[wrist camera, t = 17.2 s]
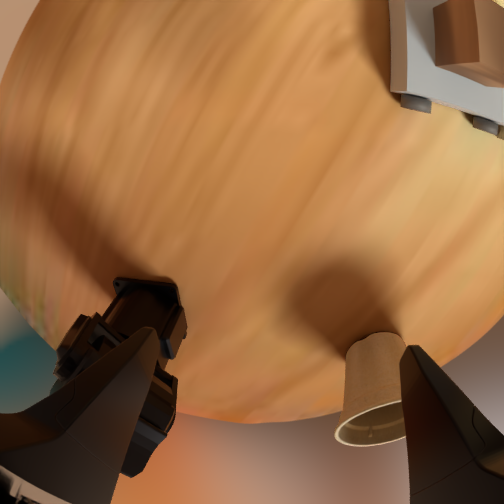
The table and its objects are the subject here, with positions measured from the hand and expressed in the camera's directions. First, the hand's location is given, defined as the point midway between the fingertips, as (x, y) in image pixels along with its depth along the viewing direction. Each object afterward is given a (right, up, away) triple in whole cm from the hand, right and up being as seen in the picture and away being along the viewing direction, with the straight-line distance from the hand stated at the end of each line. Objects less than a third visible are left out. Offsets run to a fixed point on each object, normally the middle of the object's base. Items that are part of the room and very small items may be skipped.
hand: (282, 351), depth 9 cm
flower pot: (+11, -7, +17) cm, 21 cm away
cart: (+12, +17, +3) cm, 21 cm away
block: (+11, +15, 0) cm, 19 cm away
